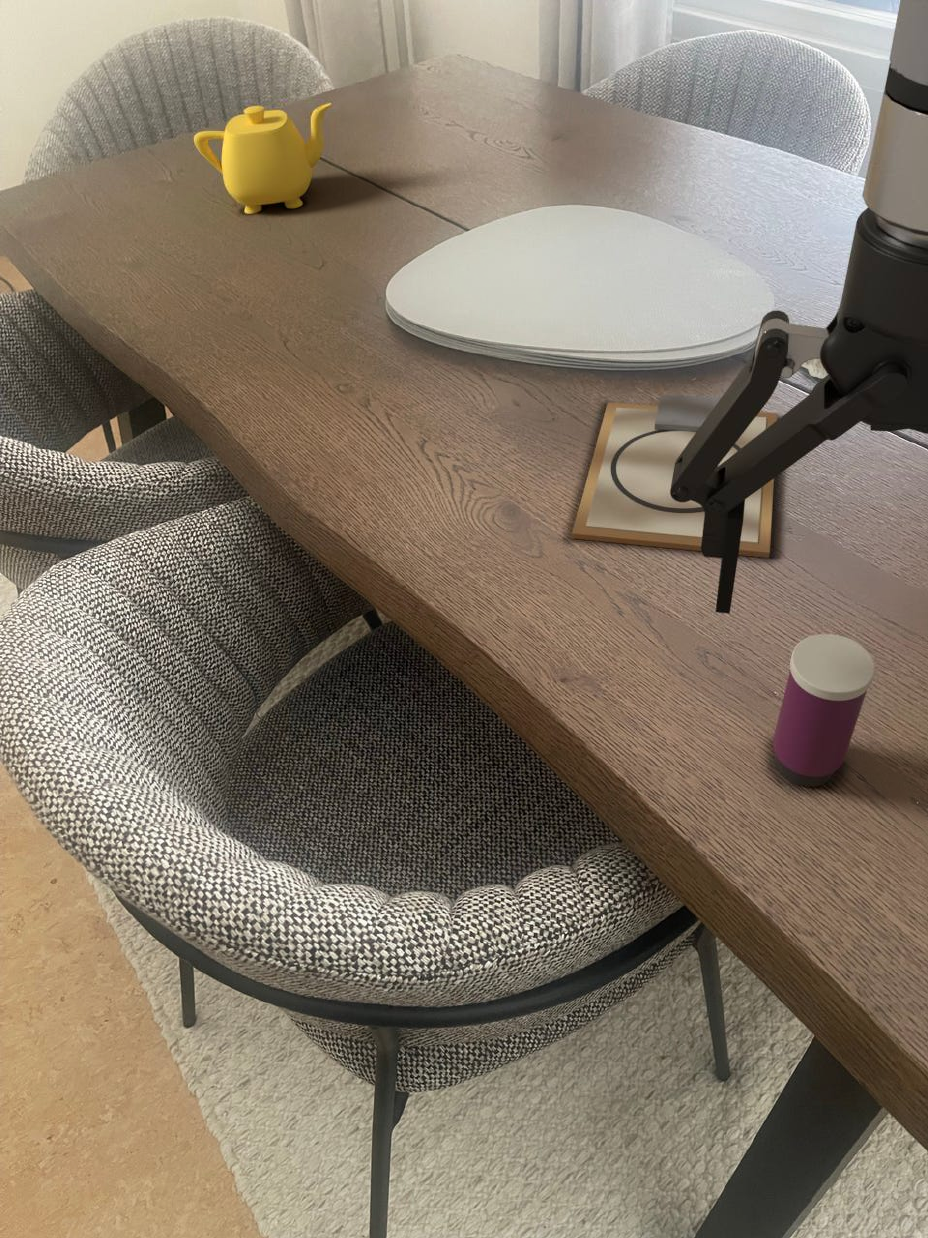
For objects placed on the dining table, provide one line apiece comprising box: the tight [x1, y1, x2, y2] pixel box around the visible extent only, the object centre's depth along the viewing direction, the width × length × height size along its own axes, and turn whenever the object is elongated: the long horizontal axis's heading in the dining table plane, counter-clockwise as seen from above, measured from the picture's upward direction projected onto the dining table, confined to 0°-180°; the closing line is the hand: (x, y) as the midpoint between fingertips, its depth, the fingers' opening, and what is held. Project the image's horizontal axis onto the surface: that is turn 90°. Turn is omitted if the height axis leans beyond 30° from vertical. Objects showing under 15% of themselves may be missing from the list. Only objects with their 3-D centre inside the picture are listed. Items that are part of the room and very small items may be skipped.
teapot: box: [193, 102, 332, 215], centre depth 134 cm, size 13×20×12 cm
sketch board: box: [571, 394, 779, 559], centre depth 83 cm, size 21×16×1 cm
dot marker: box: [772, 633, 876, 788], centre depth 58 cm, size 5×5×10 cm
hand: (853, 610), depth 51 cm, fingers open, 13 cm apart
